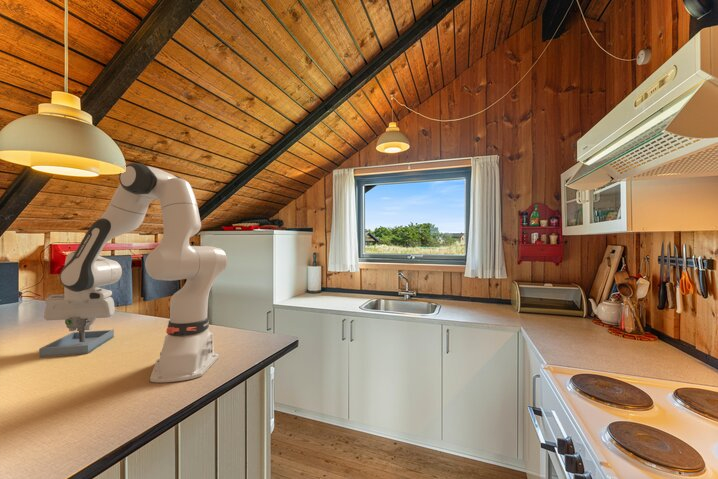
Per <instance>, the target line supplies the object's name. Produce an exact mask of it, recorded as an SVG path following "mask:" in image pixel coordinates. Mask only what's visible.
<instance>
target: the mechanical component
mask: <svg viewBox="0 0 718 479" xmlns="http://www.w3.org/2000/svg"><path fill="white" fill-rule="evenodd" d="M89 322H90V321H88V319H81V318H80V317H78V318H76V317H75V318H73V319H72V318H69V319H66V321H65V320H64V323H65V325H66V326H65V327H66V328H67V329H69V328H77V329H76V332H79V342H85V331H86V330H84V329H85V328H84V326H85V325H88V323H89Z"/></svg>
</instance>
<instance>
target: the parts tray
mask: <svg viewBox="0 0 718 479" xmlns="http://www.w3.org/2000/svg"><path fill="white" fill-rule="evenodd" d="M114 335H115V330H114V329H107V330H85V342H79V331H71V333H69V334H67V335H65V336H62V337H60V338H58V339H56V340H54V341H52V342H50V343H48V344H46V345H43V346H41V347H40V348H38V351H39V352H38V353H39V354H38V357H39V358H49V357H62V356H76V355H88V354H90V353H91V352H93V351H94V350H96V349H98V348H99V347H101V346H102V345H103V344H105V343H107V342H109V341H110V340H111V339H113V338H114V337H115V336H114Z"/></svg>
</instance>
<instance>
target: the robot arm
mask: <svg viewBox="0 0 718 479" xmlns="http://www.w3.org/2000/svg"><path fill="white" fill-rule="evenodd" d="M125 166H126V172H124V173H120V172H119V174H118V175H119V178H118V179H119V186H118V187H117V188H116V190H115V192H114V194H113V195H112V197H111V199H110V201H109V203H108V206H107V208H106V210H105V211H104V212H103V214H102V215H101V216H100V217H99V218H98V219H97V220H95V221H94V222H93V223H92V224H91V225H90V227H89V228H88V230H87V232H86V233H85V235H84V237H83V238H82V240H81V242H79V243H80V244H79V245H78V247H77V249H76V251H72V252H70V253H68V254H67V255H66V258H65V261H64V266H63V267H62V269H61V271H60V274H59V281H60V283H61V284H62V286H64V287H63V288H64V290H63V291H64V293H61V294H58V293H57V294H51V295H49V296H47V297H46V298H45V308H44V314H43V318H44V320H46V321H64V322H65V321H66V319H69V318H72V319H73V318H75V317H76V318H78V317H80V318H81V319H88V321H90V322H89V323H88V325H85V326H84V328H85V329H84V330H85V331H92V328H93V327H92V326H93V324H94V323H95V322H96V319H103V318H104V319H105V318H106V319H107V318H111V317H112V316H113V315H114V314H115V311H116V310H115V306H116V305H115V301H114V298H113V297H111V296H113V291H112V290H110V289H105V288H103V286H108V285H112V284H115V283H118V282H119V281H120V280H121V278H122V276H123V273H124V272H123V271H124V270H123V267H122V265H121V263H120V262H118V261H117V260H115V259H110V258H106V257H103V256H101V255H100V254H101V253H102V251H103V250H104V247H105V245H106V244H107V243H108V242H110V241H111V240H112V239H115V238H117V237H119V236H122V235H124V234H128V233H131V232H134V231H135V230H137V229H138V228H140V226H142V223H143V222H144V220H145V217H146V215H147V212H148V209H149V207H150V206H149V205H150V204H151V202H153V201H159V203H160V209H161V210H160V211H161V215H162V224H163V233H162V237H161V241H160V242H159V244H158V245H157V246H156V247H155V248H153V249H152V250H150V252H149V253H148V255H147V257H146V258H145V264H144V265H145V270H146V273H147V274H148V275H149V277H150V278H152V280H156V281H157V280H158V281H169V282H172V281H179V280H181V281H182V280H186V281H185V283H184V285H183V286H182V288H179V290H177V291H175V293H173V295H172V296H171V298H170V301H169V304H170V305H169V314H170V315H169V320H168V325H167V327H166V331H165V332H166V335H165V336H164V341H163V344H162V348H161V351H160V353H159V358H158V359H157V360H156V361H155V363H154V366H153V368H152V372H151V375H150V376H149V382H152V383H171V382H173V383H174V382H181V381H187V380H192V379H196V378H199V377H202V376H203V375H204V374H205V373H206V372H207V370H208V369H209V368H210V367H211V366H212V365H213V364H214V363H215V362H216V361H217V360H218V359H219V358H220V355H219V353H216V352H215V349H214V345H215V344H214V333H213V332H212V331H210V329H209V325H210V320H209V316H208V306H209V295H210V291H211V290H212V287H213V285H214V282H215V281H216V280H217V278H218V276H219V275H220V274H222V273H223V272H224V271H225V269H226V267H227V264H228V257H227V254H226V252H225V251H224V250H223V248H220V247H215V246H210V245H190V239H191V238H192V237H194V236H195V235H196V234H198V233H199V232H200V230H201V228H202V222H201V221H202V220H201V217H200V212H199V207H198V202H197V198H196V195H195V192H194V189H193V188H192V186H191V183H190V182H189V181H187V180H186V179H184V178H181V177H180V176H178V175H175V174H172V173H169V172H167V171H164V170H163V169H160V168H157V167H153V166H150V165H149V166H148V165H145V164H144V163H138V162H130V163H127V164H126V165H125ZM76 331H77V328H68V332H76Z"/></svg>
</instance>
